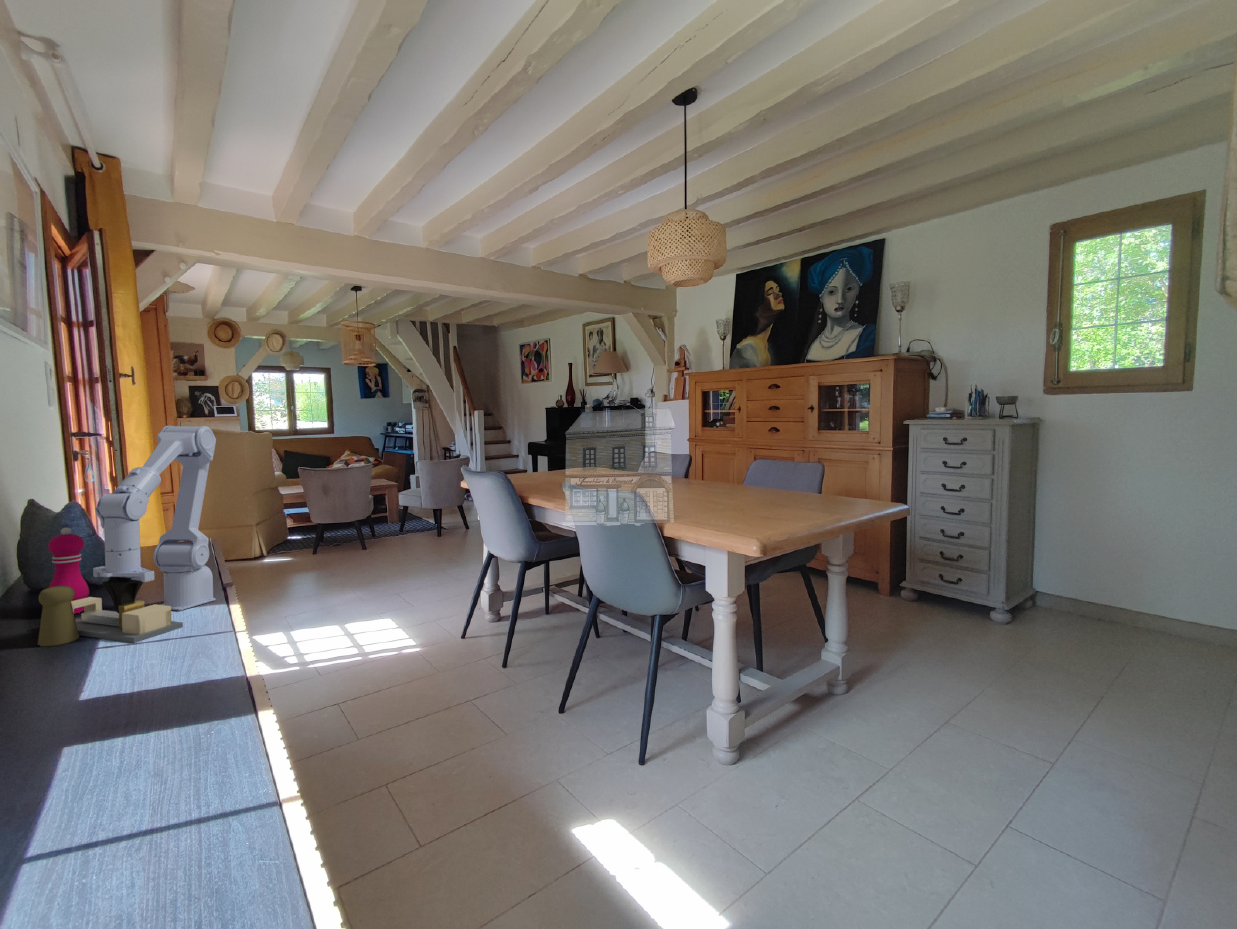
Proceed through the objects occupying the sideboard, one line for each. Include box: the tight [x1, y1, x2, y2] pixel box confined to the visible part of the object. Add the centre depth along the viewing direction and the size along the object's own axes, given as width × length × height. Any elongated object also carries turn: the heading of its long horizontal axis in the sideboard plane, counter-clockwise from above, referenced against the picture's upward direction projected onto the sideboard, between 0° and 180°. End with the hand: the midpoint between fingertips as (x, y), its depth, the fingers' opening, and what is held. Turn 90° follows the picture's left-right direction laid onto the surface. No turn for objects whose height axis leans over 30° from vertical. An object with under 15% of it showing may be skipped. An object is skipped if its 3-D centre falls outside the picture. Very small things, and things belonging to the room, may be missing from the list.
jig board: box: [71, 596, 184, 643], centre depth 123 cm, size 10×25×5 cm, turn 76°
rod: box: [80, 599, 146, 628], centre depth 123 cm, size 4×17×5 cm, turn 76°
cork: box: [37, 586, 80, 647], centre depth 116 cm, size 6×6×11 cm
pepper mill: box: [47, 527, 90, 615], centre depth 133 cm, size 7×7×20 cm
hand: (124, 612), depth 123 cm, fingers closed
